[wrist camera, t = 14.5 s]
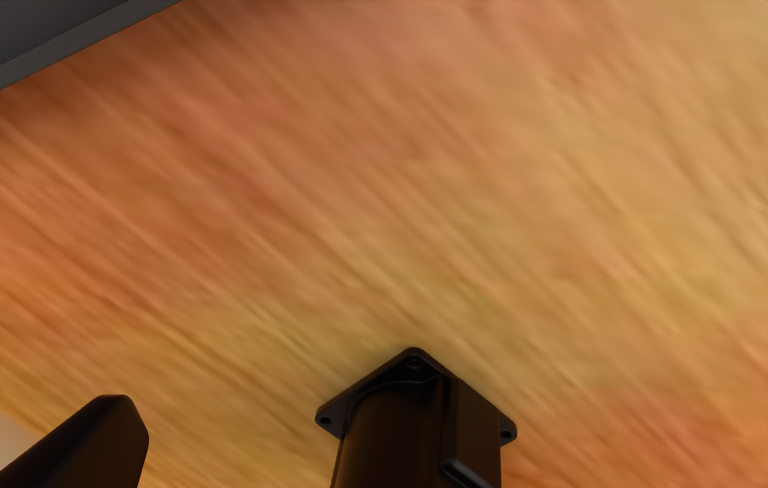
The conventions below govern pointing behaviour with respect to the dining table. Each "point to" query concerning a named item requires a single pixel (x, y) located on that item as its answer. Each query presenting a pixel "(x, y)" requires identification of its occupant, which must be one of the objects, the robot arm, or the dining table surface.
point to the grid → (60, 30)
